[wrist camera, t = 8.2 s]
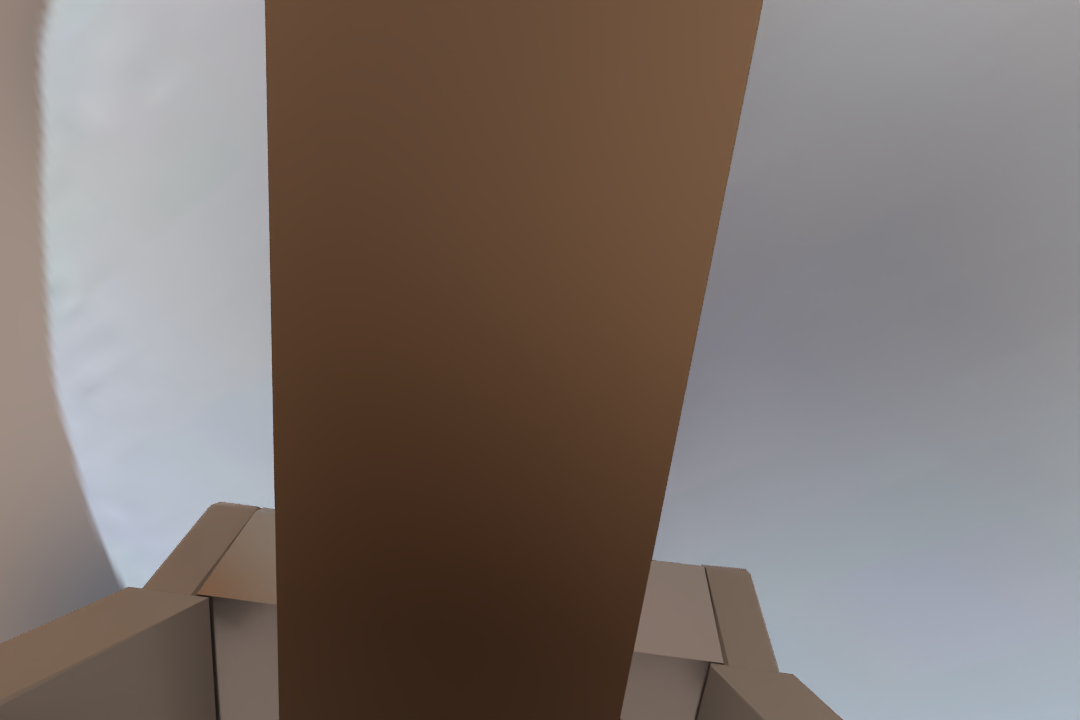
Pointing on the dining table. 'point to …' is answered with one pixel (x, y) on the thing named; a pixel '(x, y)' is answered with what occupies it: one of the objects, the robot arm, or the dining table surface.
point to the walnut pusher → (483, 337)
